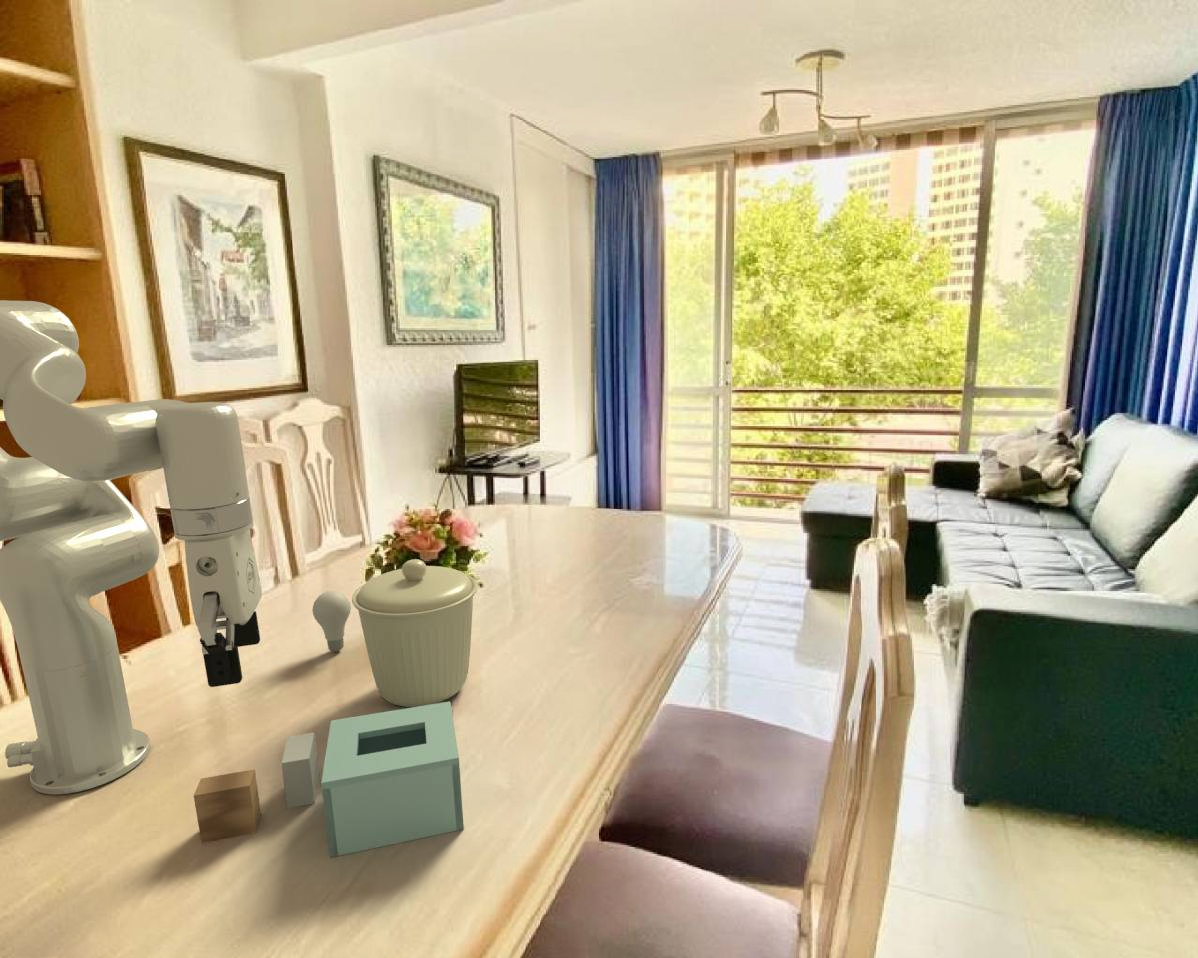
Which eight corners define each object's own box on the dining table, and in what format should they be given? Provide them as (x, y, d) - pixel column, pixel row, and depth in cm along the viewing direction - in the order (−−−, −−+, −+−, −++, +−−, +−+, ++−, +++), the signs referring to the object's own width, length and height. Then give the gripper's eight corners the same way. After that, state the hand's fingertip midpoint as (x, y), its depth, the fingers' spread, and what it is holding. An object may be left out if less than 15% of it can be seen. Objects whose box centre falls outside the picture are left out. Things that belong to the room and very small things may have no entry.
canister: (359, 732, 96) (344, 589, 91) (364, 671, 112) (352, 548, 108) (490, 710, 100) (482, 573, 96) (476, 655, 117) (468, 536, 113)
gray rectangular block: (314, 803, 81) (309, 758, 80) (287, 808, 81) (281, 763, 79) (319, 774, 87) (314, 732, 85) (293, 779, 86) (288, 736, 84)
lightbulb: (342, 660, 116) (336, 599, 114) (310, 658, 117) (303, 597, 115) (361, 644, 122) (356, 586, 119) (330, 642, 123) (324, 584, 121)
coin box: (330, 857, 73) (321, 782, 71) (338, 786, 84) (330, 720, 82) (463, 828, 77) (458, 757, 75) (454, 764, 88) (450, 701, 86)
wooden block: (201, 843, 75) (193, 795, 74) (208, 824, 78) (200, 778, 77) (256, 832, 77) (249, 785, 76) (261, 814, 80) (254, 769, 78)
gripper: (232, 536, 67) (257, 695, 71) (266, 496, 83) (284, 627, 87) (145, 544, 65) (175, 708, 69) (197, 502, 82) (219, 636, 85)
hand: (236, 663), depth 78 cm, fingers open, 9 cm apart
